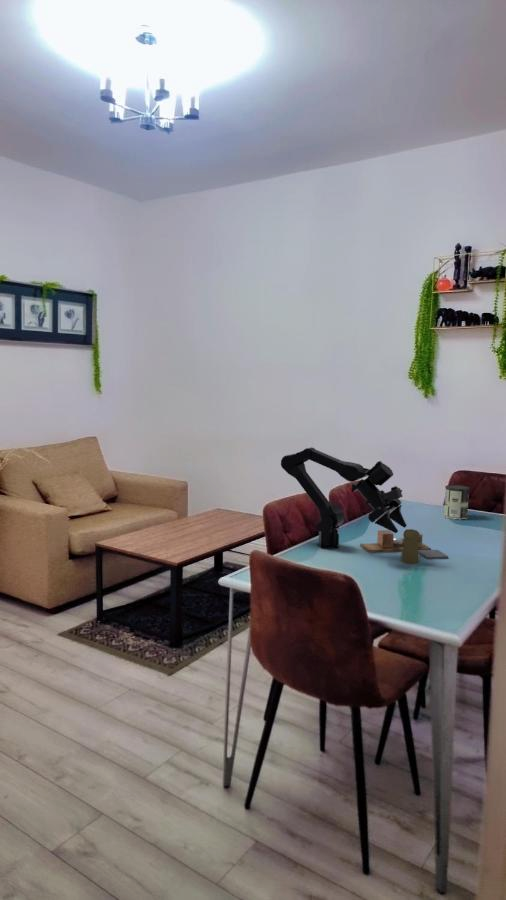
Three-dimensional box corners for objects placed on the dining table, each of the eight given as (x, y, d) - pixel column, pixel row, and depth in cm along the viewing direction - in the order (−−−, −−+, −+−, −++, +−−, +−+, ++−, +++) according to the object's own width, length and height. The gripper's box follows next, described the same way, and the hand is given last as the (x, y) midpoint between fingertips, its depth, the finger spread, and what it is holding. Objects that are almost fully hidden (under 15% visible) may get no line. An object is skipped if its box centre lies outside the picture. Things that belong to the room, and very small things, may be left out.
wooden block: (382, 547, 212) (382, 534, 211) (377, 543, 217) (377, 530, 216) (408, 547, 214) (409, 533, 213) (402, 543, 218) (403, 529, 218)
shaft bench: (367, 552, 210) (368, 536, 209) (360, 546, 218) (360, 531, 217) (431, 551, 214) (431, 535, 213) (421, 544, 221) (422, 529, 221)
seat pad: (426, 559, 204) (426, 556, 204) (416, 552, 212) (416, 550, 211) (448, 558, 205) (448, 556, 205) (437, 551, 213) (437, 549, 213)
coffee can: (462, 515, 273) (464, 485, 272) (470, 520, 263) (472, 489, 261) (440, 514, 273) (442, 484, 272) (447, 519, 263) (449, 488, 262)
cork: (419, 564, 197) (421, 532, 196) (401, 563, 198) (402, 531, 197) (418, 559, 203) (420, 528, 202) (400, 558, 204) (402, 527, 203)
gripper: (378, 483, 194) (410, 520, 190) (397, 476, 210) (426, 510, 205) (355, 503, 199) (385, 540, 195) (375, 495, 215) (403, 529, 210)
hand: (401, 529), depth 201 cm, fingers open, 9 cm apart
